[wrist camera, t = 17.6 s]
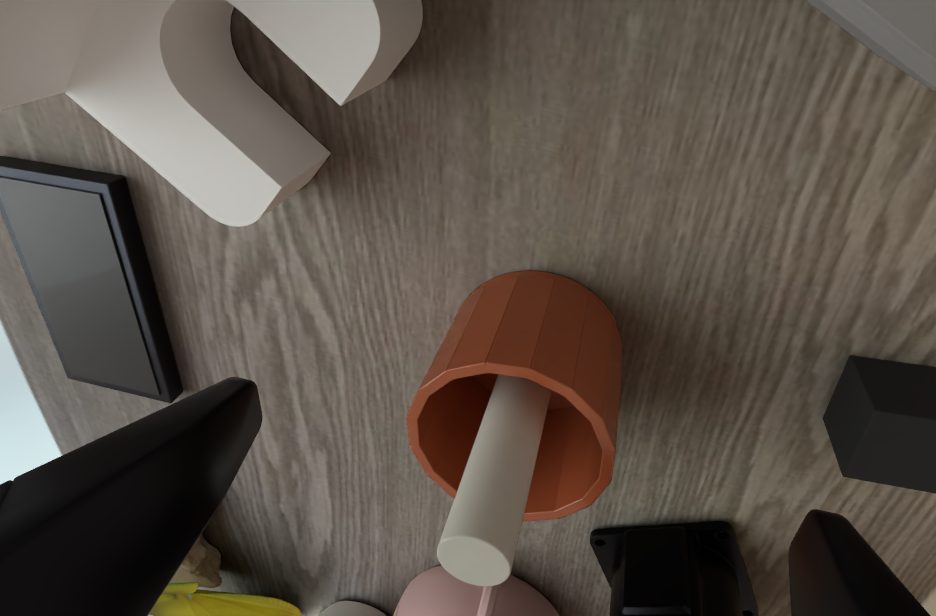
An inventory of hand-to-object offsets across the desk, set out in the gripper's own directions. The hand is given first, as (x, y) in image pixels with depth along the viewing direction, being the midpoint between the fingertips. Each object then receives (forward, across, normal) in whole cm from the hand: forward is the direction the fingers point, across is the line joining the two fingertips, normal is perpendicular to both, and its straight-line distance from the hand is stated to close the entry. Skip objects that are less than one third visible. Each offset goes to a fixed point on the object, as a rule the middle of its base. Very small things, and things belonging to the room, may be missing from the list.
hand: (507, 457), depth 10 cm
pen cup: (+13, +1, +7) cm, 15 cm away
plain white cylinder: (+12, +1, +7) cm, 14 cm away
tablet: (+13, +22, +9) cm, 27 cm away
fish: (+9, +23, +31) cm, 40 cm away
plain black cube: (+13, -12, +6) cm, 19 cm away
